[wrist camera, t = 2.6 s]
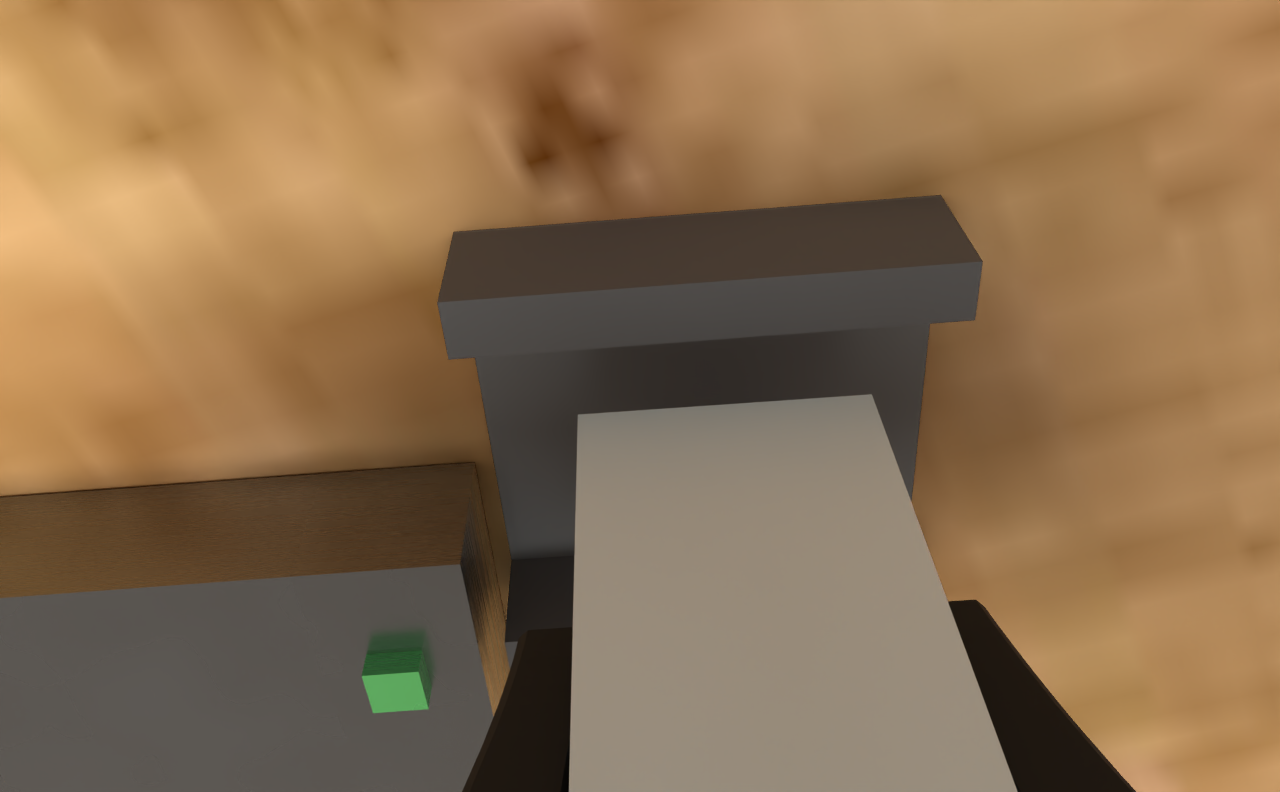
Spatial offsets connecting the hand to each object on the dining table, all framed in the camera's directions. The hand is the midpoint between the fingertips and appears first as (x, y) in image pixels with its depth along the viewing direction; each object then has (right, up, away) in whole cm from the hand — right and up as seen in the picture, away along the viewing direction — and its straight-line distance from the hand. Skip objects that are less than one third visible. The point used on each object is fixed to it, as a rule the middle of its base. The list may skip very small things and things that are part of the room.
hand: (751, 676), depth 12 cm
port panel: (-8, -5, +9) cm, 13 cm away
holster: (0, +3, +4) cm, 5 cm away
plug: (0, +2, +2) cm, 3 cm away
